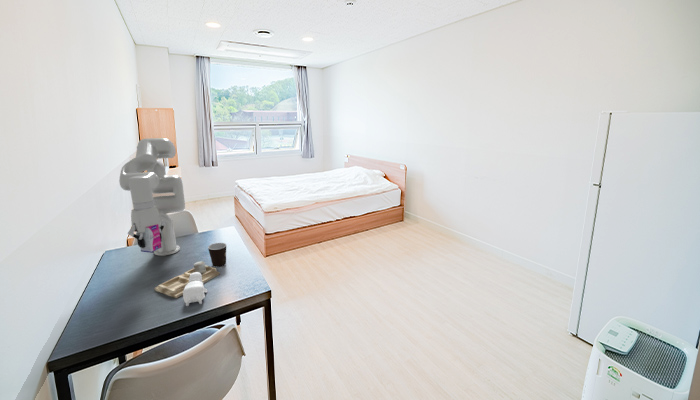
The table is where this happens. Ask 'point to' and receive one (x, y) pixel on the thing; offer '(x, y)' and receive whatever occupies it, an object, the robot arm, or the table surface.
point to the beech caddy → (186, 280)
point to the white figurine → (194, 289)
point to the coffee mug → (218, 254)
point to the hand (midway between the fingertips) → (150, 243)
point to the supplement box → (151, 239)
